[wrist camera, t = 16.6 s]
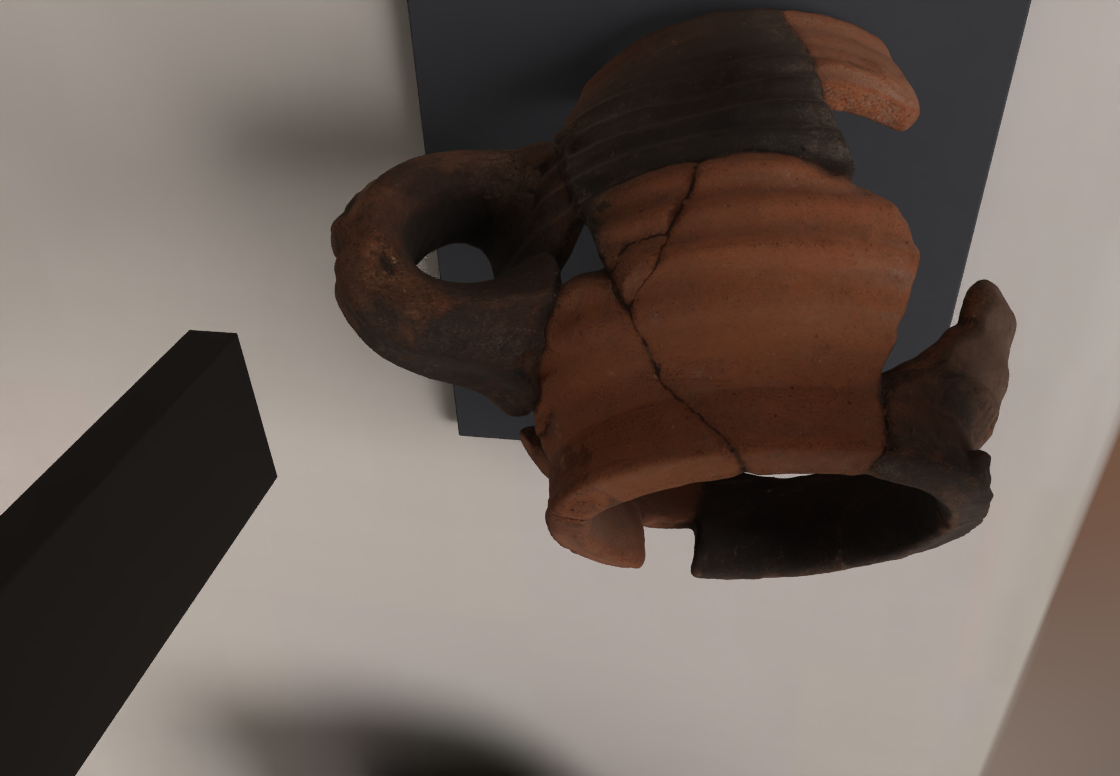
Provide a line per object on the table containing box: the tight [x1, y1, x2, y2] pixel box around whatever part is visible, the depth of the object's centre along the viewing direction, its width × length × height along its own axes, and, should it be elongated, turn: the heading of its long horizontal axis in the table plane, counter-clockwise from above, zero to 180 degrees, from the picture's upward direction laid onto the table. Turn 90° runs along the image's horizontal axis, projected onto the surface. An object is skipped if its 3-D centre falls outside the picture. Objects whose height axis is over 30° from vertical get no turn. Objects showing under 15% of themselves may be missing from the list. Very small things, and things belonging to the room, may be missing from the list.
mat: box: [407, 0, 1031, 440], centre depth 18 cm, size 11×11×1 cm
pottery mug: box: [331, 8, 1016, 580], centre depth 16 cm, size 12×10×8 cm
